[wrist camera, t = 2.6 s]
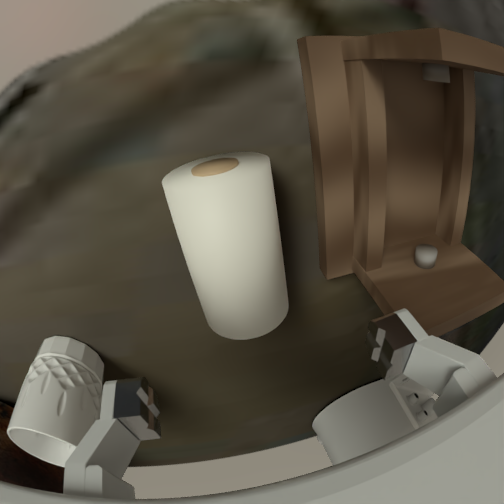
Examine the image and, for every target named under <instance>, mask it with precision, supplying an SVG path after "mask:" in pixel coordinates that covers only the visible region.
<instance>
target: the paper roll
mask: <svg viewBox="0 0 504 504" xmlns="http://www.w3.org/2000/svg"><path fill="white" fill-rule="evenodd" d="M162 185H163V188H164V192H165V195H166V199H167V202H168V205H169V209H170V212H171V215H172V219H173V222H174V225H175V228H176V231H177V235H178V238H179V241H180V244H181V247H182V250H183V253H184V256H185V259H186V262H187V265H188V268H189V271H190V274H191V277H192V280H193V283H194V286H195V289H196V292H197V295H198V297H199V300H200V303H201V306H202V309H203V311H204V314H205V317H206V320H207V322H208V325H209V326H210V328H211V329H212V330H213V331H214V332H216V333H217V334H219V335H221V336H223V337H226V338H230V339H236V340H245V339H252V338H256V337H260V336H262V335H265V334H267V333H269V332H271V331H272V330H274V329H275V328H276V327H277V326H279V325H280V324H281V322H282V321H283V320H284V319H285V317H286V315H287V313H288V308H289V303H288V294H287V286H286V277H285V269H284V261H283V253H282V245H281V237H280V230H279V222H278V215H277V207H276V200H275V193H274V186H273V179H272V172H271V165H270V159H269V157H268V156H267V155H265V154H262V153H257V152H231V153H223V154H219V155H214V156H210V157H206V158H201V159H198V160H195V161H192V162H189V163H187V164H184V165H182V166H180V167H178V168H176V169H174V170H173V171H171V172H170V173H168V174H167V175H166V176H165V177H164V178H163V180H162Z"/></svg>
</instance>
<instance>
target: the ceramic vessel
mask: <svg viewBox="0 0 504 504" xmlns="http://www.w3.org/2000/svg"><path fill="white" fill-rule="evenodd" d="M13 410H14V408H12V407H11V406H9V405H6V404H4V403H2V402H0V481H4V482H7V483H11V484H15V485H19V486H23V487H27V488H32V489H37V490H42V491H48V492H54V493H60V494H63V487H64V471H65V467H61V466H57V465H54V464H51V463H49V462H46V461H44V460H41V459H39V458H37V457H35V456H33V455H31V454H29V453H28V452H26V451H24V450H23V449H21V448H20V447H19V446H17V445H16V444H15V443H14V442H13V441H12V440H11V439H10V438H9V436H8V434H7V428H8V425H9V422H10V419H11V416H12V413H13Z"/></svg>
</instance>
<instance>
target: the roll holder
mask: <svg viewBox="0 0 504 504" xmlns="http://www.w3.org/2000/svg"><path fill="white" fill-rule="evenodd" d="M297 43H298V50H299V56H300V62H301V69H302V75H303V82H304V90H305V97H306V105H307V113H308V121H309V130H310V139H311V148H312V158H313V169H314V181H315V193H316V207H317V222H318V239H319V260H320V269H321V271H322V273H323V274H324V276H325V278H326V279H327V280H328V279H332V278H336V277H340V276H343V275H347V274H351V273H355V274H356V276H357V277H358V278H359V280H360V281H361V283H362V284H363V285H364V287H365V288H366V290H367V291H368V292H369V294H370V295H371V297H372V298H373V299H374V301H375V302H376V304H377V305H378V307H379V308H380V309H381V311H382V312H383V314H384V315H387V314H390V313H393V312H396V311H398V310H401V309H404V308H405V309H407V310H408V311H409V312H410V314H411V315H412V316H413V317H414V318H415V320H416V321H417V322H418V323H419V325H420V326H421V327H422V328H423V330H424V331H425V332H426V333H427V335H428V336H431V335H433V336H435V337H439V336H441V335H443V334H445V333H447V332H449V331H451V330H453V329H455V328H457V327H459V326H461V325H463V324H465V323H467V322H469V321H471V320H473V319H475V318H477V317H479V316H480V315H482V314H484V313H486V312H488V311H490V310H491V309H493V308H495V307H497V306H498V305H500V304H502V303H503V302H504V281H503V280H502V279H501V278H500V277H499V276H498V275H497V274H496V273H494V272H493V271H492V270H491V269H490V268H489V267H488V266H487V265H486V264H485V263H483V262H482V261H481V260H480V259H479V258H478V257H477V256H476V255H474V254H473V253H472V252H471V251H470V250H469V249H467V248H466V247H465V246H464V245H463V244H461V238H462V233H463V228H464V223H465V217H466V212H467V205H468V199H469V192H470V184H471V175H472V165H473V153H474V136H475V82H474V71H478V72H484V73H490V74H495V75H500V76H504V47H501V46H498V45H496V44H493V43H490V42H487V41H484V40H481V39H478V38H474V37H471V36H468V35H464V34H461V33H457V32H453V31H449V30H445V29H441V28H429V29H416V30H405V31H397V32H389V33H381V34H375V35H368V36H362V37H359V36H305V37H302V38H300V39H297Z"/></svg>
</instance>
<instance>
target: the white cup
mask: <svg viewBox="0 0 504 504" xmlns="http://www.w3.org/2000/svg"><path fill="white" fill-rule="evenodd" d="M103 377H104V363H103V362H102V360H101V358H100V357H99V355H98V354H97V353H96V352H95V351H94V350H92V349H91V348H90V347H89V346H87V345H86V344H84V343H82V342H80V341H77V340H75V339H73V338H70V337H63V336H53V337H50V338H47V339H45V340H44V342H43V343H42V345H41V346H40V348H39V351H38V353H37V355H36V358H35V360H34V362H33V363H32V364H31V366H30V369H29V371H28V374H27V375H26V378H25V380H24V382H23V385H22V388H21V390H20V393H19V396H18V399H17V401H16V404H15V407H14V410H13V413H12V416H11V419H10V422H9V425H8V428H7V434H8V436H9V438H10V439H11V440H12V441H13V442H14V443H15V444H16V445H17V446H19V447H20V448H21V449H23V450H24V451H26V452H28V453H29V454H31V455H33V456H35V457H37V458H39V459H41V460H44V461H46V462H49V463H51V464H54V465H57V466H61V467H65V462H66V461H67V460H68V458H69V457H70V455H71V454H72V453H73V451H74V450H75V448H76V447H77V446H78V444H79V443H80V442H81V440H82V439H83V437H84V436H85V435H86V433H87V432H88V431H89V429H90V428H91V426H92V425H93V424H94V422H95V421H96V420H100V412H101V402H102V394H103V391H102V385H103Z"/></svg>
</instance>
